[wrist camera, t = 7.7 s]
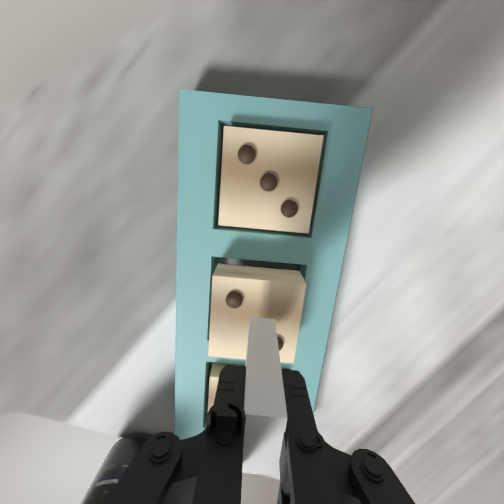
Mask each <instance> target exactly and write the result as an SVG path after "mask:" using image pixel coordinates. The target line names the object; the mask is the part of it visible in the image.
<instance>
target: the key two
mask: <svg viewBox="0 0 504 504" xmlns="http://www.w3.org/2000/svg"><path fill="white" fill-rule="evenodd" d="M305 289H306V282H305V280H304V278H303V277H302V275H301V273H300V271H295V270H284V269H273V268H262V267H251V266H240V265H229V264H217V267H216V269H215V271H214V273H213V276H212V294H211V312H210V331H209V350H208V356H211V357H223V358H235V359H246V349H247V339H248V329H249V319H250V317H257V318H268V319H275V324H276V332H277V340H278V347H279V355H280V362H282V363H294V358H295V352H296V346H297V340H298V333H299V327H300V321H301V314H302V308H303V302H304V296H305Z"/></svg>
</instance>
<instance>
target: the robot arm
mask: <svg viewBox="0 0 504 504" xmlns="http://www.w3.org/2000/svg"><path fill="white" fill-rule="evenodd" d="M279 467H280V480H281V482H280V488H279V494H278V500H277V504H415V503H414V501H413V500H412V498H411V497H410V495H409V494H408V492H407V491H406V489H405V488H404V486H403V485H402V484H401V482H400V481H399V479H398V478H397V476H396V475H395V473H394V472H393V470H392V469H391V467H390V466H389V465H388V464H387V462H386V461H385V460H384V459H383V458H382V457H381V456H379V455H378V454H376V453H375V452H373V451H370V450H368V449H358V450H356V451H354V452H353V454H352V456H351V455H349V454H346V453H344V452H342V451H339V450H337V449H335V448H333V447H331V446H330V445H329V444H327V443H326V442H325V441H324V439H323V437H322V436H321V435H320V433H319V432H318V430H317V427H316V423H315V419H314V415H313V411H312V407H311V403H310V399H309V394H308V390H307V386H306V382H305V379H304V377H303V376H302V375H301V373H300V372H299V371H297V370H287V369H281V363H280V355H279V347H278V340H277V332H276V324H275V319H268V318H257V317H250V319H249V329H248V339H247V349H246V361H245V366H235V365H225V366H224V368H223V369H222V370H221V371H220V374H219V379H218V385H217V390H216V395H215V400H214V405H213V406H212V407H211V408H210V409H209V411H208V414H207V425H206V429H205V430H204V431H202V432H201V433H200V434H198V435H196V436H193V437H190V438H186V439H182V440H180V439H179V437H178V436H177V435H175V434H173V433H170V432H162V433H157V434H155V435H154V436H152V437H150V438H149V439H148V440H147V441H146V442H145V443H144V444H143V445H142V447H141V448H140V450H139V451H138V453H137V454H136V456H135V457H134V458H133V460H132V461H131V463H130V464H129V466H128V467H127V468H126V470H125V471H124V473H123V474H122V476H121V477H120V479H119V480H118V481H117V483H116V484H115V486H114V487H113V489H112V490H111V491H110V493H109V494H108V496H107V497H106V499H105V500H104V502H103V503H102V504H241V503H240V502H241V483H242V473H252V474H263V475H274V476H278V473H279Z"/></svg>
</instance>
